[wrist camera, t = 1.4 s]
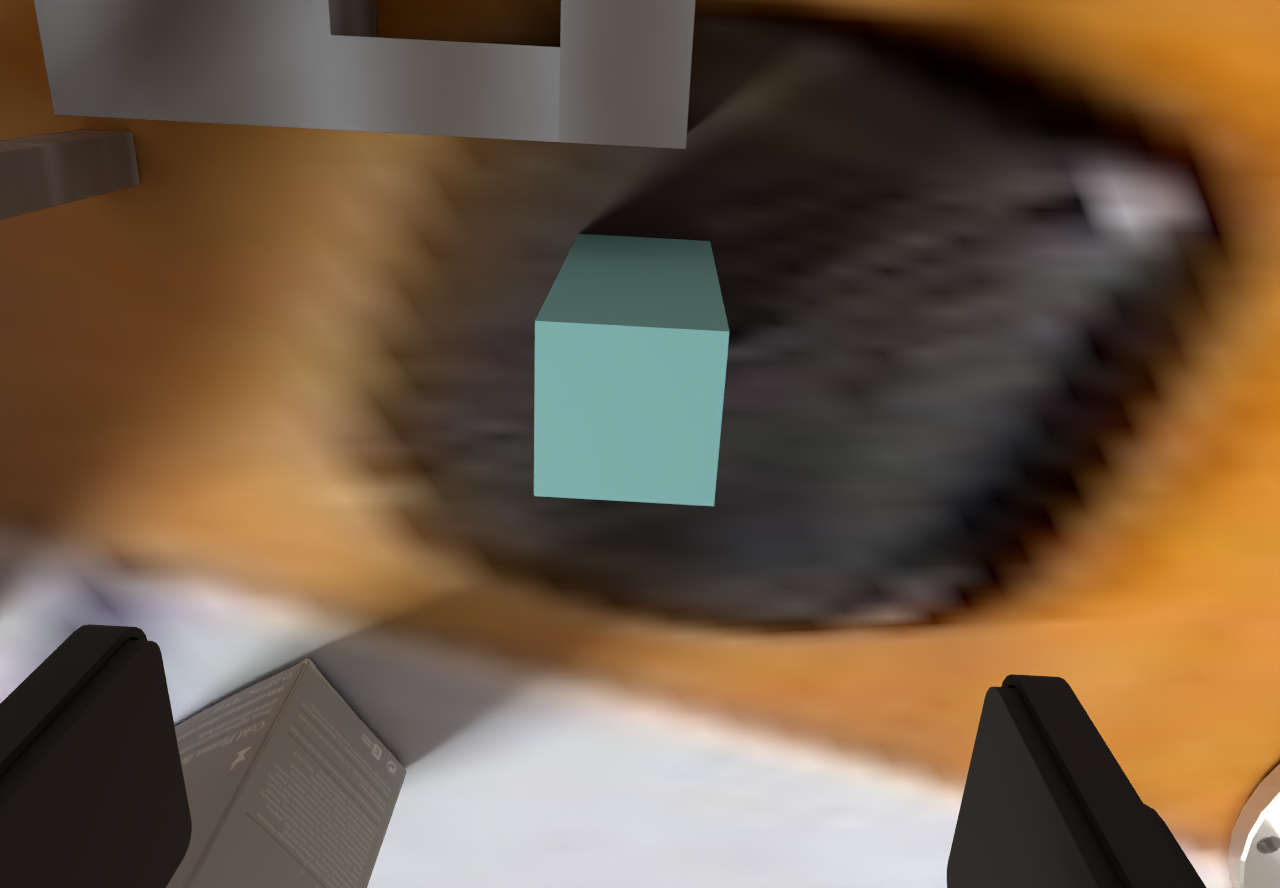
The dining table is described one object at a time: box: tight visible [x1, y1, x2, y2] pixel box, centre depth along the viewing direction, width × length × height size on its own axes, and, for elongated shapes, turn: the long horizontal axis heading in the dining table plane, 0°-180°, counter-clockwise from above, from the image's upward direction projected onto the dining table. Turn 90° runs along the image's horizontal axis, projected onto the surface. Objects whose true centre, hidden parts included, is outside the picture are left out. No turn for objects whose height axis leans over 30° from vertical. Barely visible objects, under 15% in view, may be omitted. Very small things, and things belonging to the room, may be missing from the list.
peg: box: [534, 234, 729, 506], centre depth 25 cm, size 4×4×10 cm
